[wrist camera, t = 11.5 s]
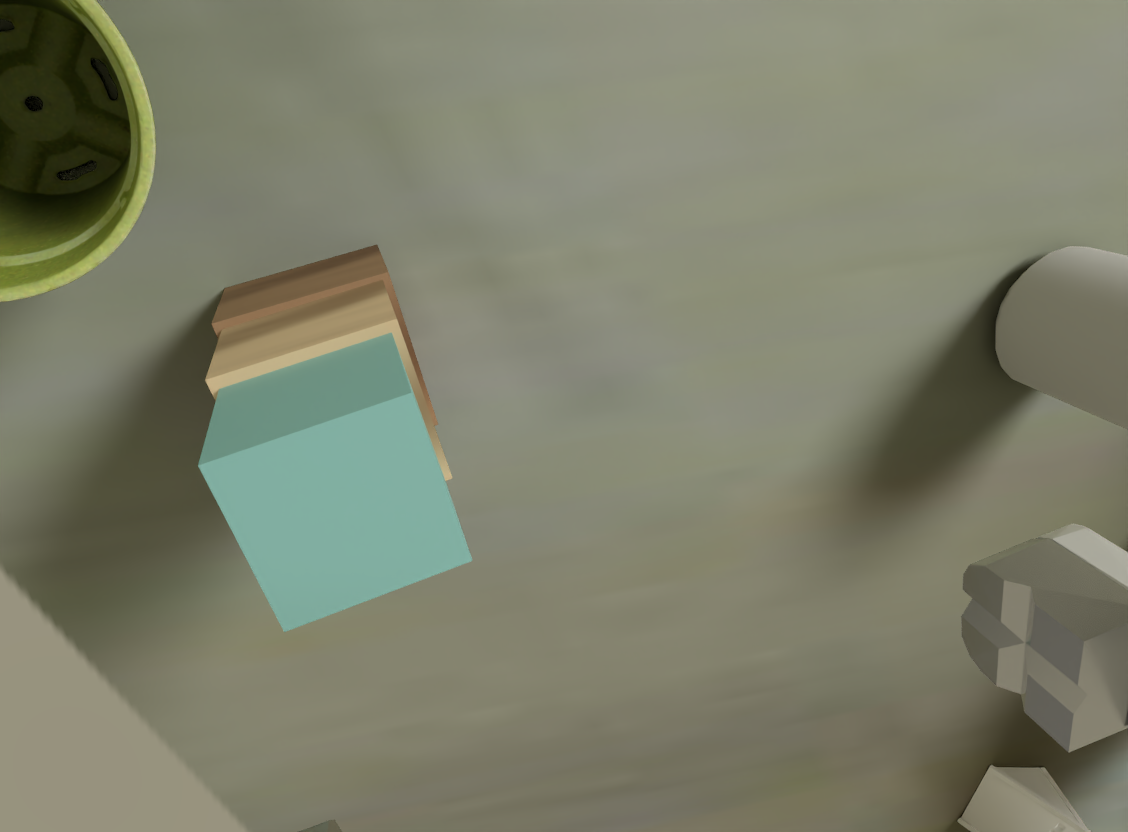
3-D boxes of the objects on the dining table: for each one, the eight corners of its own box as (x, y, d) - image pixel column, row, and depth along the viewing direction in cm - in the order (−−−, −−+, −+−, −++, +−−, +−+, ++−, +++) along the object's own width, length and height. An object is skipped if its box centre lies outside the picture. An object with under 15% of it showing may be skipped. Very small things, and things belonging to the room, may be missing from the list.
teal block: (219, 389, 23) (198, 465, 18) (391, 332, 23) (411, 392, 19) (288, 532, 25) (284, 631, 20) (444, 476, 26) (472, 560, 21)
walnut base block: (224, 288, 31) (211, 323, 27) (376, 244, 32) (388, 271, 28) (282, 423, 34) (278, 476, 29) (421, 379, 35) (438, 424, 30)
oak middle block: (221, 329, 27) (205, 380, 22) (382, 279, 28) (396, 318, 23) (285, 468, 29) (281, 538, 25) (431, 418, 30) (452, 478, 26)
